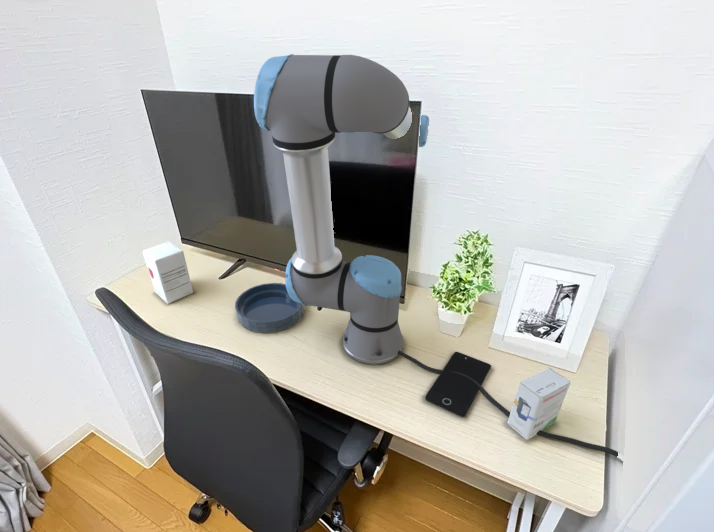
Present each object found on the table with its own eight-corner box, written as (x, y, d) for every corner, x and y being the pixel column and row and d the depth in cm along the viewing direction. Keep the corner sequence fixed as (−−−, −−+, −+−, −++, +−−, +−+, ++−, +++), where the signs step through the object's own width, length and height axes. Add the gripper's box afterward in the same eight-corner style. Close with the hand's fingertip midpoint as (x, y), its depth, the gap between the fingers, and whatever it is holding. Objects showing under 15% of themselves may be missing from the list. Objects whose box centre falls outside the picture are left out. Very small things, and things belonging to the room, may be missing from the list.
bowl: (317, 308, 120) (317, 296, 118) (272, 343, 108) (270, 331, 105) (269, 287, 130) (268, 276, 128) (223, 317, 118) (220, 305, 115)
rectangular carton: (154, 292, 129) (140, 250, 121) (180, 282, 134) (169, 240, 126) (167, 304, 124) (154, 260, 115) (194, 293, 129) (183, 250, 120)
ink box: (526, 441, 81) (543, 400, 74) (505, 422, 85) (519, 381, 78) (555, 423, 84) (574, 382, 77) (534, 406, 88) (549, 365, 81)
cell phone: (424, 399, 90) (424, 396, 90) (454, 353, 102) (455, 350, 101) (464, 418, 86) (464, 415, 85) (491, 367, 98) (492, 364, 97)
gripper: (380, 191, 115) (346, 267, 114) (327, 179, 125) (295, 249, 124) (371, 178, 108) (335, 258, 108) (315, 166, 118) (282, 240, 117)
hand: (314, 253), depth 116 cm, fingers closed on supplement bottle, 6 cm apart
